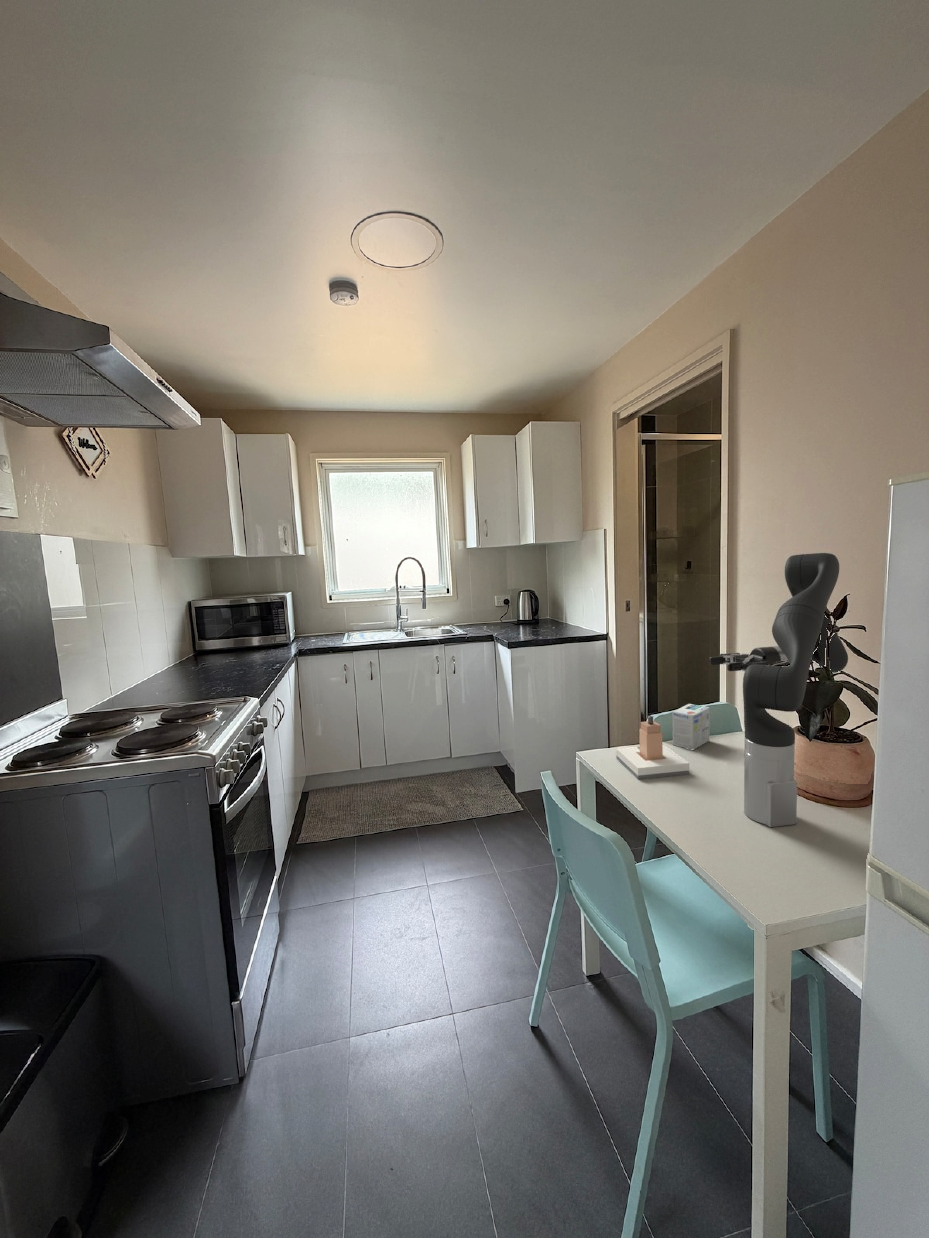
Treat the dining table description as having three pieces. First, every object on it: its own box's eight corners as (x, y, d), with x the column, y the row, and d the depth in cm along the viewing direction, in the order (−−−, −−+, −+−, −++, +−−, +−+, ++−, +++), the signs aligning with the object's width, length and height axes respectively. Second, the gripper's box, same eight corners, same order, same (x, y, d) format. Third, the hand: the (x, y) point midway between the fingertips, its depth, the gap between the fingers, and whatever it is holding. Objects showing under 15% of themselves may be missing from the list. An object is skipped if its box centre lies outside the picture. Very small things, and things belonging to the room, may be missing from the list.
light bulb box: (688, 735, 160) (688, 702, 158) (710, 741, 155) (710, 706, 153) (671, 745, 153) (671, 710, 152) (693, 750, 148) (693, 715, 146)
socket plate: (689, 774, 133) (689, 761, 132) (637, 779, 131) (637, 767, 131) (663, 753, 147) (662, 743, 146) (616, 758, 145) (616, 747, 145)
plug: (662, 764, 137) (662, 718, 135) (647, 766, 137) (646, 719, 135) (654, 758, 141) (654, 713, 140) (639, 760, 141) (639, 714, 139)
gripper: (756, 642, 150) (704, 646, 149) (791, 651, 136) (734, 655, 135) (755, 667, 151) (704, 671, 150) (791, 678, 137) (734, 683, 135)
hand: (718, 664), depth 142 cm, fingers open, 8 cm apart
